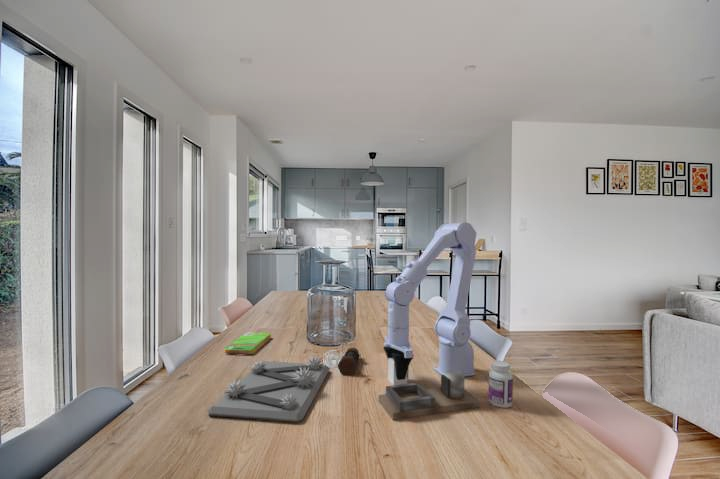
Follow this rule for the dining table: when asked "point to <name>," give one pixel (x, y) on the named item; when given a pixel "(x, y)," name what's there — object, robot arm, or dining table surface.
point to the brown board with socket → (428, 398)
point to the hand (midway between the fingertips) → (397, 375)
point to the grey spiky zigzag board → (273, 391)
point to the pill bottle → (500, 385)
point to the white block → (392, 373)
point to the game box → (248, 343)
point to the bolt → (349, 362)
